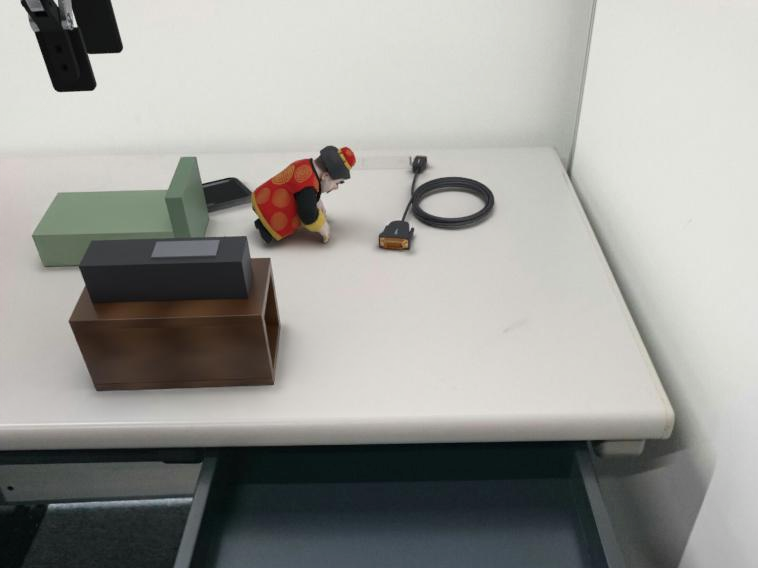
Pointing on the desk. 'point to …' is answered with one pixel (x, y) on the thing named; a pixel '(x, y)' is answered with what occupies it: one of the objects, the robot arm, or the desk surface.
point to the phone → (225, 194)
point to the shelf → (182, 339)
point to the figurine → (300, 194)
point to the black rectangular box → (167, 269)
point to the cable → (398, 230)
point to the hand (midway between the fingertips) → (91, 70)
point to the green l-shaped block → (122, 216)
